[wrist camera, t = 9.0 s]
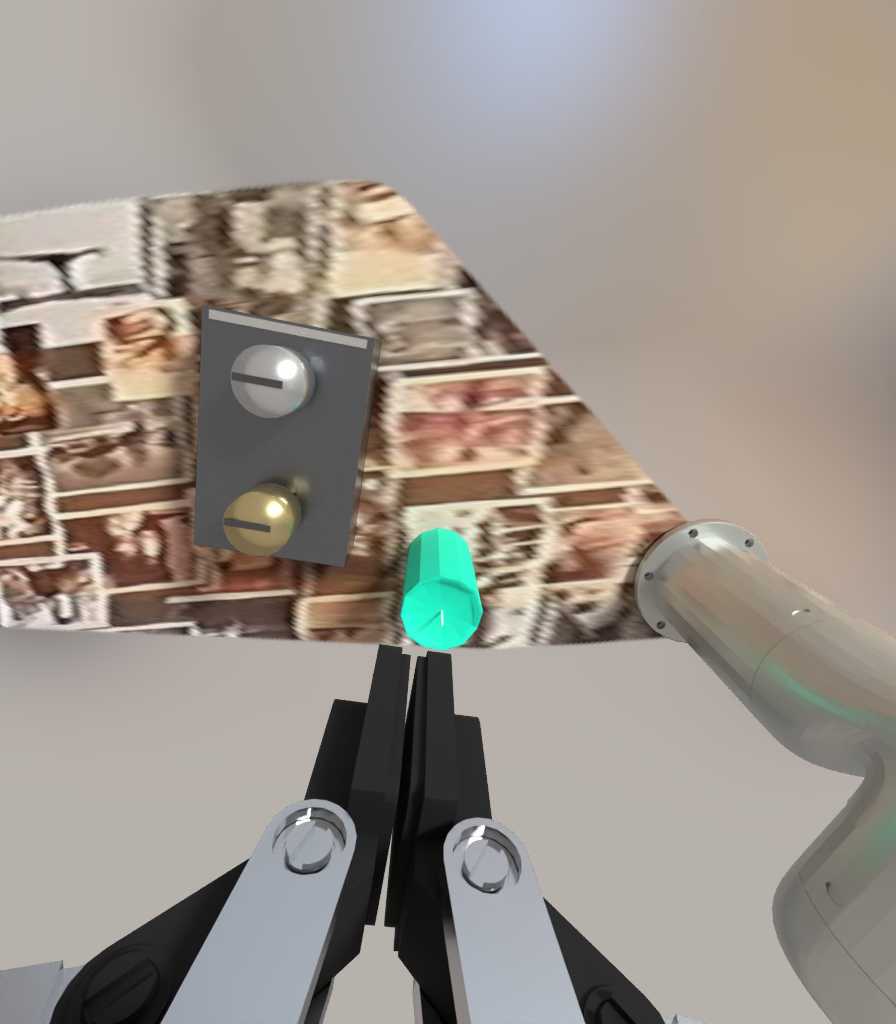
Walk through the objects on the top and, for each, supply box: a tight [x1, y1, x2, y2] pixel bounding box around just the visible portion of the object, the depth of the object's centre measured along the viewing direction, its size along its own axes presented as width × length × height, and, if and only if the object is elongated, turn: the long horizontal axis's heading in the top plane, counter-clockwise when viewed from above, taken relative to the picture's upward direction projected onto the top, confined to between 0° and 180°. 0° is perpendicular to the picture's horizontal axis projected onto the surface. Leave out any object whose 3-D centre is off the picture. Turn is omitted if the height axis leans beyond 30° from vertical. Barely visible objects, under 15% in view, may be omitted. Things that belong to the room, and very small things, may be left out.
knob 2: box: [223, 483, 302, 557], centre depth 38 cm, size 5×5×8 cm
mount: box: [194, 305, 381, 567], centre depth 39 cm, size 12×18×5 cm, turn 170°
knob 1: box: [231, 345, 315, 418], centre depth 35 cm, size 5×5×8 cm
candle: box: [401, 528, 483, 650], centre depth 40 cm, size 6×6×12 cm
